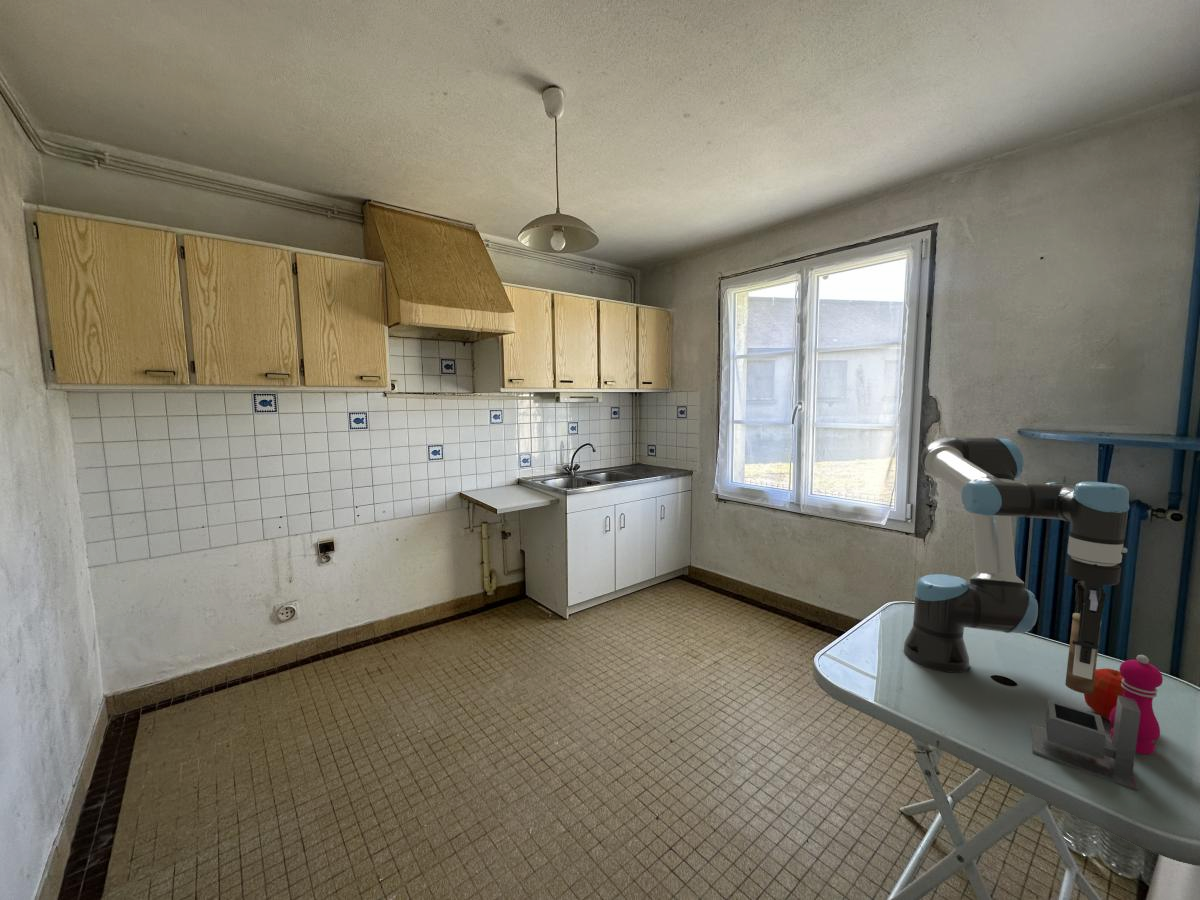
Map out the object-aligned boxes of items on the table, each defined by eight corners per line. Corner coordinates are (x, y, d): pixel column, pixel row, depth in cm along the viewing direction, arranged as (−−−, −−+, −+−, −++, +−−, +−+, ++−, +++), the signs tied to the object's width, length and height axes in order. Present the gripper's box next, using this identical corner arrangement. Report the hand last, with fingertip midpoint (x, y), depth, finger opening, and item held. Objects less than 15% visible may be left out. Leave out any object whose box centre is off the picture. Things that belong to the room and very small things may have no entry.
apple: (1072, 698, 117) (1077, 654, 116) (1129, 711, 113) (1135, 664, 112) (1090, 723, 109) (1096, 675, 107) (1153, 737, 104) (1160, 687, 103)
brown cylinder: (1065, 688, 97) (1073, 617, 96) (1064, 679, 101) (1071, 611, 99) (1094, 696, 95) (1103, 624, 93) (1091, 687, 98) (1100, 617, 96)
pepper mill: (1097, 733, 105) (1107, 647, 103) (1126, 731, 106) (1137, 645, 104) (1136, 757, 98) (1148, 665, 96) (1168, 755, 99) (1180, 664, 96)
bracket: (1033, 753, 99) (1040, 689, 98) (1031, 726, 107) (1037, 667, 106) (1136, 790, 90) (1146, 721, 88) (1126, 757, 98) (1134, 693, 96)
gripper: (1129, 576, 86) (1114, 698, 88) (1114, 554, 99) (1101, 661, 101) (1071, 566, 91) (1058, 682, 93) (1064, 546, 104) (1053, 649, 106)
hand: (1080, 671), depth 97 cm, fingers closed on brown cylinder, 4 cm apart
